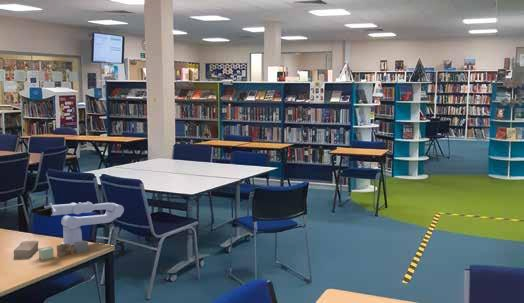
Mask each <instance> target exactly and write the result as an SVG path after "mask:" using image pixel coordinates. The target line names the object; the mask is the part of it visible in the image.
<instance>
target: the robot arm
mask: <svg viewBox="0 0 524 303" xmlns="http://www.w3.org/2000/svg"><path fill="white" fill-rule="evenodd" d="M96 210H97V211H98V210H99V211H101V210H105V213H104V214H95V215H87V216H86V215H85V216H70V215H71V214H73V215H80V214H84V213H85V214H86V213H92V212H93V211H96ZM30 211H31V213H32V214H36V216H42V217H43V216H44V217H48V218H50V219H51V218H52V216H61V215H64V216H63V217H62V218H61V220H60V222H61V223H60V224H61V225H62V234H63V235H62V236H63V238H62V239H63V241H62V242H60V245H62V244H67V243H68V244H70V245H71V246H74V243H75V242H80V241H83V234H82V233H83V232H82V229H81V226H89V225H97V224H98V225H99V224H108V223H112V222H113V221H114V220H116V219H118V218H120V217H122V215H123V213H124V211H125V208H124V206H123V205H122V204H117V203H116V202H103V203H101V202H100V203H94V204H93V202H90V201H86V202H81V201H80V202H78V203H76V202H70V203H64V204H61V203H60V204H53V203H51V202H49V204H48V205H46V206H45V204H44V203H42V204H41V205H38V206H36V207H31V209H30ZM69 214H70V215H69Z"/></svg>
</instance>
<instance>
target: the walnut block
mask: <svg viewBox="0 0 524 303" xmlns="http://www.w3.org/2000/svg"><path fill="white" fill-rule="evenodd" d="M56 255H57V256H59V257H64V256H68V255H72V245H70V244H68V243H67V244H60V245H59V244H58V245H56Z"/></svg>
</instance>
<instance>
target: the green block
mask: <svg viewBox="0 0 524 303" xmlns="http://www.w3.org/2000/svg"><path fill="white" fill-rule="evenodd" d="M54 257H55V255H54V247H52V246H45V247H41V248H38V258H39V259H40V260H42V261H43V260H46V259H52V258H54Z"/></svg>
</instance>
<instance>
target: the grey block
mask: <svg viewBox="0 0 524 303" xmlns="http://www.w3.org/2000/svg"><path fill="white" fill-rule="evenodd" d="M73 246H74V247H73V248H74V252H75V253H76V254H79V253H80V254H81V253H85V252H89V241H87V240H82V241H80V242H75V243H74V245H73Z"/></svg>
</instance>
